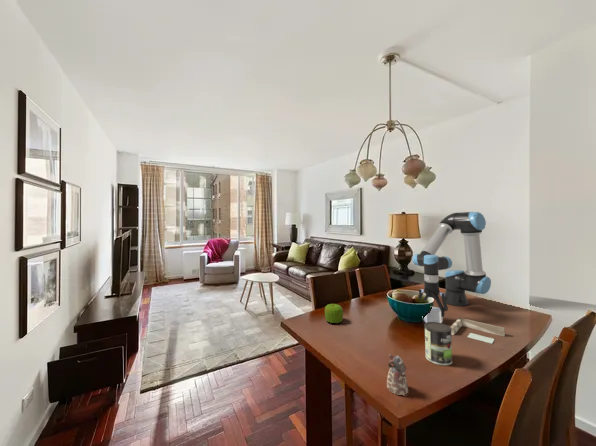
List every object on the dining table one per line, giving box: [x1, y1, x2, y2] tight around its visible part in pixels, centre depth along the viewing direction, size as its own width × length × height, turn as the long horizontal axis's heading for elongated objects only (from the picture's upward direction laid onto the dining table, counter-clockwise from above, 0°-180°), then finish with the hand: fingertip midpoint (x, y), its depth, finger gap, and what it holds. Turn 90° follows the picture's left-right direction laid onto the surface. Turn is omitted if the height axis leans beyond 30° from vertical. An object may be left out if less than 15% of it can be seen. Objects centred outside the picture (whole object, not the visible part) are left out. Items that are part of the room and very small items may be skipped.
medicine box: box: [423, 306, 440, 323], centre depth 145 cm, size 8×4×9 cm, turn 84°
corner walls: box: [450, 317, 506, 337], centre depth 128 cm, size 17×20×4 cm
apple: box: [324, 303, 344, 324], centre depth 150 cm, size 11×11×11 cm
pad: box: [467, 332, 495, 345], centre depth 124 cm, size 6×10×1 cm, turn 43°
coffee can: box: [424, 322, 453, 366], centre depth 107 cm, size 10×10×14 cm
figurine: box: [386, 353, 409, 396], centre depth 89 cm, size 7×7×12 cm
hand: (432, 319), depth 145 cm, fingers closed on medicine box, 9 cm apart
